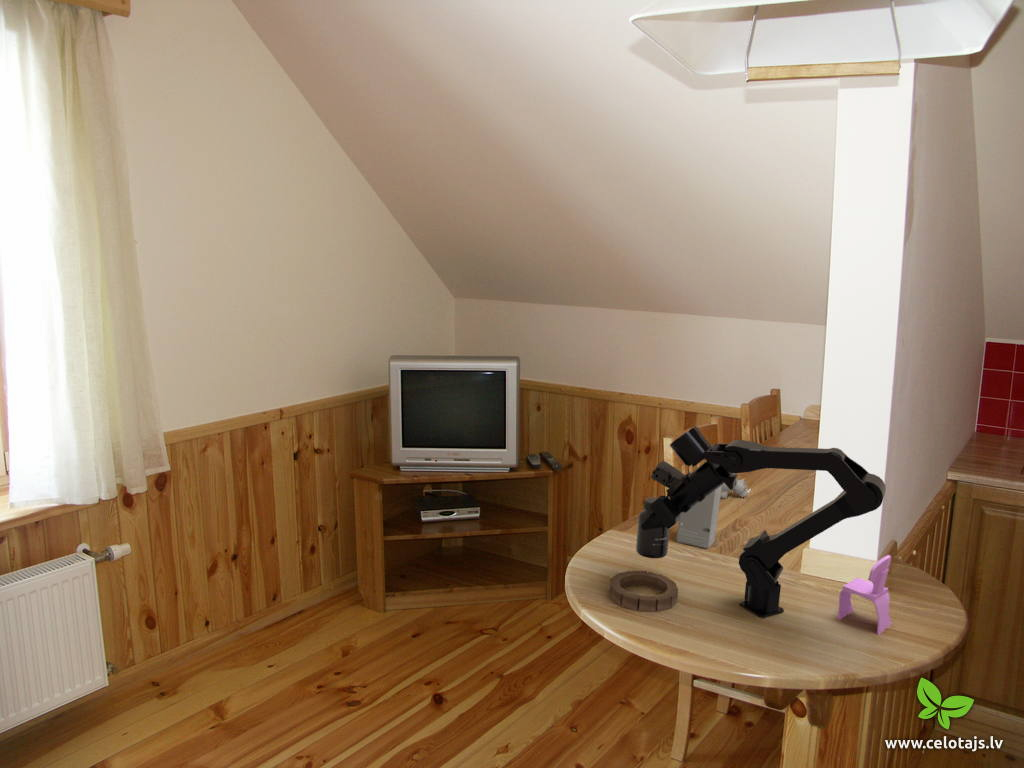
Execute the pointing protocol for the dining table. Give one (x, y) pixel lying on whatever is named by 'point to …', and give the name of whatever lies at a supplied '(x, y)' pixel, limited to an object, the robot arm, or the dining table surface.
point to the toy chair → (870, 593)
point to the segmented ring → (642, 601)
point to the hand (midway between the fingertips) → (647, 523)
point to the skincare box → (700, 522)
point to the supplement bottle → (651, 536)
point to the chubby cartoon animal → (735, 489)
